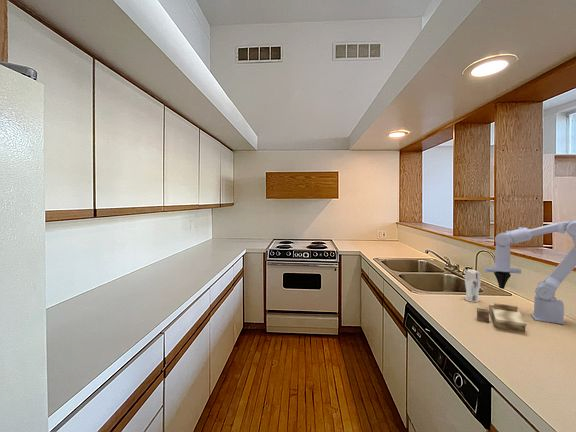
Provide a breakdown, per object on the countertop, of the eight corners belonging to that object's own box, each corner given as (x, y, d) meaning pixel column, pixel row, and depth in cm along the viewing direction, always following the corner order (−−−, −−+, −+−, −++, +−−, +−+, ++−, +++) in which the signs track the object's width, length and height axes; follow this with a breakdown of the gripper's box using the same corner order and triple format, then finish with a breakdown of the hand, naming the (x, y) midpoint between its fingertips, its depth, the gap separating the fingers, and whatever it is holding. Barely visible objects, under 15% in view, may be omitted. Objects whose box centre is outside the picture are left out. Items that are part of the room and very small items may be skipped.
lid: (518, 313, 129) (519, 306, 129) (526, 326, 116) (526, 318, 116) (491, 309, 134) (491, 302, 133) (496, 321, 120) (496, 314, 120)
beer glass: (464, 301, 154) (465, 272, 154) (463, 297, 161) (464, 269, 160) (480, 303, 151) (481, 273, 150) (479, 299, 157) (480, 270, 157)
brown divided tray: (515, 314, 136) (516, 308, 136) (525, 331, 118) (525, 324, 118) (489, 311, 141) (489, 304, 141) (494, 326, 123) (494, 319, 123)
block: (487, 319, 131) (487, 309, 131) (488, 323, 127) (489, 312, 127) (476, 318, 133) (477, 307, 132) (477, 321, 129) (477, 310, 129)
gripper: (488, 259, 138) (487, 289, 139) (525, 261, 135) (524, 291, 136) (482, 257, 145) (481, 285, 146) (517, 258, 142) (516, 287, 143)
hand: (501, 288), depth 141 cm, fingers closed
